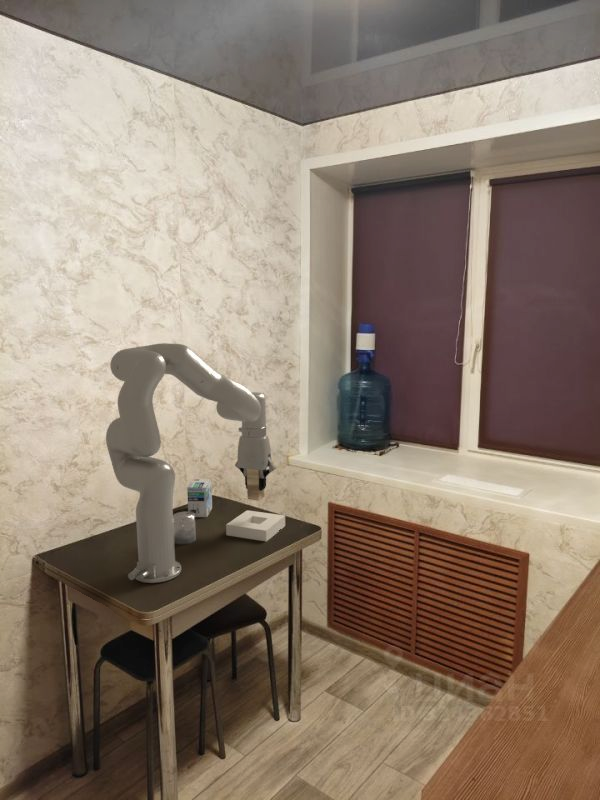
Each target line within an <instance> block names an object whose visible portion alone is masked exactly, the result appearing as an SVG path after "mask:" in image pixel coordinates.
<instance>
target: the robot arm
mask: <svg viewBox="0 0 600 800" xmlns="http://www.w3.org/2000/svg"><path fill="white" fill-rule="evenodd" d="M110 371H111V373H112V374H113V376H114V377H115V378H116V379H117V380H119V381H122V382H123V384H122V386H121V387H120V390H119V392H118V397H117V409H118V414H119V415H118V416H119V417H117V418H115V419H114V420H113V421H111V422H110V424H109V425H108V427H107V429H106V432H105V433H106V435H105V442H106V447H107V451H108V454H109V458H110V462H111V466H112V470H113V473H114V475H115V477H116V480H117V482H118V483H119V484H120V485H121V486H123V487H124V488H126V489H130V490H133V491H135V492H138V493H139V498H138V501H137V503H136V507H135V521H136V522H135V523H136V535H137V536H136V537H137V553H138V556H137V557H138V561H137V562H136V567H135V568H134V569H133V570H132V571H130V572H129V573H128V575H127V578H128V579H129V580H131V581H134V580H137V581H139V582H141V583H146V584H147V583H148V584H156V583H157V584H158V583H163V582H167V581H168V582H169V581H170V580H172V579H174V578H177V577H178V576H179V575H180V574H181V573H182V565H181V563H180V562H179V561H177V560H176V554H175V553H176V551H175V547H176V546H175V542H174V525H173V515H174V511H173V510H174V509H173V508H174V507H173V503H174V502H173V499H174V490H175V484H176V483H175V482H176V474H175V471H174V468H173V467H172V465H170V463H168V462H167V461H165V460H163V459H159V458H155V457H152V456H154V455H156V454H157V453H158V452H159V450H160V448H161V445H162V443H161V442H162V440H161V434H160V431H159V430H160V429H159V426H158V422H157V418H156V413H155V409H154V403H153V401H154V400H153V398H154V394H155V393H154V392H156V391H155V390H156V388H157V387H158V385H159V383H160V382H161V381H162V379H163V377H164V376H165V375H171V376H173V377H174V378H176V379H177V380H178V381H180V382H181V383H182V384H184V385H185V386H186V387H187V388H188V389H190V391H192V392H193V393H194V394H195V395H197V396H199V397H202V398H204V399H206V400H209V401H213V402H216V406H215V407H216V412H217V414H218V415H219V416H220V417H221V418H223V419H225V420H230V421H235V422H236V421H237V422H241V427H238V432H240V433H241V435H240V436H239V439H238V440H239V441H238V445H237V459H236V462H235V464H234V466H235V467H236V468H237V469H238V470H239V471H240V472H241V473H242V475H243V477H244V485H245V490H247V469H256V470H259V472H260V478H259V490H260V491H262V490H263V489H264V490H265V489H266V487H267V476H269V474H270V473H272V472H273V471H275V470H276V469H277V468H276V465H275V464H274V462H273V461H272V450H271V443H270V439H269V436H268V435H267V416H266V414H267V413H266V411H267V409H266V396H265V395H264V393H262V392H255V391H254V392H253V391H252V392H251V391H250V390H248V389H247V388H246V387H245V386H243V385H242V384H240V383H238V382H236V381H234V380H233V379H231V378H229V377H227V376H225V375H224V374H221V373H220V372H218V371H217V370H216V369H215V368H213V367H212V366H211V365H209V364H208V363H207V362H206V361H205V360H204V359H203V358H202V357H201V356H200V355H198V354H197V353H196V352H195V351H194V350H193V349H192V348H191V347H189V346H187V345H185V344H182V343H167V342H166V343H165V342H163V343H161V342H160V343H155V344H154V343H153V344H150V345H149V344H148V345H144V346H143V345H142V346H135V347H130V348H124V349H121V350H118V351H117V352H116V353H115V354H114V355H113V356H112V357H111V361H110ZM268 467H269V468H268Z"/></svg>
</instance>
